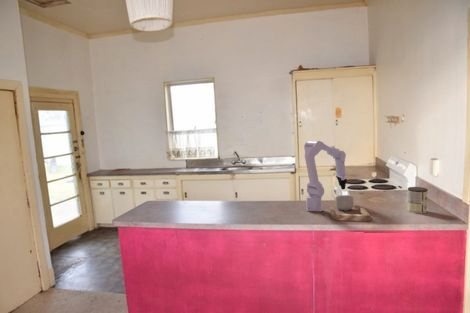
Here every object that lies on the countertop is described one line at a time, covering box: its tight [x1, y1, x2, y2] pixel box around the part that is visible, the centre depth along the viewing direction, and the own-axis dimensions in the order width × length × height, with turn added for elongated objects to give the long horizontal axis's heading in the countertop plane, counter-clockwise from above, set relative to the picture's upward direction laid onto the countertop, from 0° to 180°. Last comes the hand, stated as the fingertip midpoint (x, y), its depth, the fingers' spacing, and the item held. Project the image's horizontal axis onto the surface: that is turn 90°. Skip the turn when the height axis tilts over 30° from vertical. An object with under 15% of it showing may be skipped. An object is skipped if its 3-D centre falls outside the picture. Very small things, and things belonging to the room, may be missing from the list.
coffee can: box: [407, 186, 428, 215], centre depth 190 cm, size 10×10×14 cm
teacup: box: [334, 194, 354, 212], centre depth 200 cm, size 14×11×8 cm
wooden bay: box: [329, 206, 372, 222], centre depth 184 cm, size 20×17×3 cm
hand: (342, 187), depth 212 cm, fingers open, 7 cm apart
